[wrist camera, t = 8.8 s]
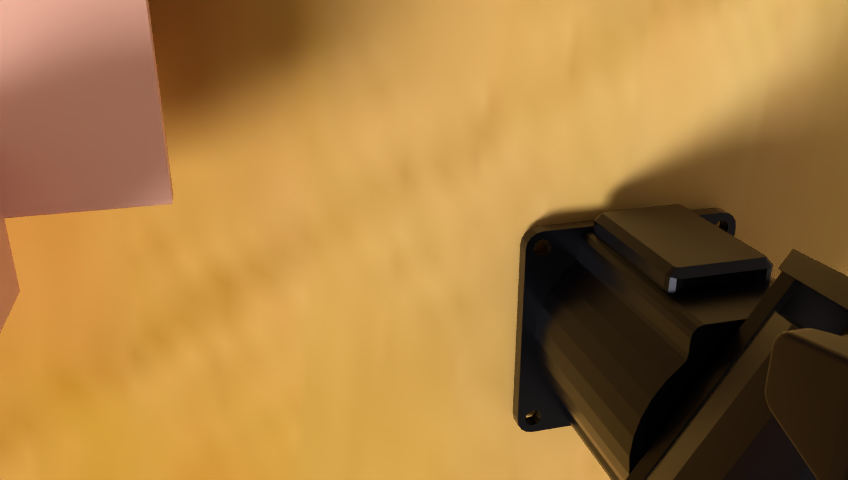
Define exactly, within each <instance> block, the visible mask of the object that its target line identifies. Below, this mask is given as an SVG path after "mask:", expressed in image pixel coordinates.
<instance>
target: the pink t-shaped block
mask: <svg viewBox="0 0 848 480" xmlns="http://www.w3.org/2000/svg"><path fill="white" fill-rule="evenodd" d="M172 202H173V189H172V181H171V174H170V166H169V158H168V150H167V142H166V135H165V127H164V119H163V111H162V104H161V96H160V88H159V80H158V73H157V65H156V57H155V49H154V42H153V34H152V26H151V18H150V11H149V3H148V0H0V332H1V330H2V328H3V326H4V324H5V321H6V319H7V317H8V315H9V313H10V311H11V309H12V306H13V304H14V302H15V300H16V298H17V296H18V294H19V292H20V290H19V285H18V281H17V276H16V271H15V267H14V262H13V257H12V253H11V248H10V243H9V239H8V234H7V230H6V225H5V220H4V218H11V217H23V216H35V215H46V214H58V213H70V212H81V211H93V210H105V209H117V208H128V207H140V206H152V205H163V204H172Z"/></svg>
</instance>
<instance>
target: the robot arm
mask: <svg viewBox="0 0 848 480" xmlns="http://www.w3.org/2000/svg"><path fill="white" fill-rule="evenodd" d="M719 221H720V225H719V227H717V226H715V224H716V223H717V222H719ZM735 228H736V225H735V219H734V218H733V216H732V215H730V214H729V213H727V212H725V211H724V210H722V209H719V208H710V209H700V210H689V209H687V208H686V207H684V206H682V205H679V204H677V205H667V206H657V207H647V208H637V209H627V210H617V211H607V212H602V213H601V214H600V215H598V216H597V217H596V218H595V219H594V220H592V221H582V222H573V223H563V224H553V225H543V226H537V227H533V228H531V229H529V230H528V231H527V232H526V233H525V234H524V236H523V237H522V240H521V244H520V263H519V285H518V308H517V330H516V353H515V375H514V398H513V416H514V419H515V421H516V422H517V424H518V426H519V427H520V428H521V429H522V430H524V431H526V432H534V431H540V430H546V429H552V428H558V427H564V426H570V425H572V427H573V428H574V429H575V431H576V432H577V433H578V435H579V436H580V438H581V439H582V440H583V442H584V443H585V444H586V446H587V447H588V449H589V450H590V451H591V453H592V454H593V455H594V457H595V458H596V459H597V461H598V462H599V464H600V465H601V466H602V468H603V469H604V470H605V472H606V473H607V475H608V476H609V477H610V479H611V480H848V276H846V275H844V274H842V273H840V272H838V271H836V270H834V269H832V268H830V267H828V266H826V265H824V264H822V263H820V262H818V261H816V260H814V259H812V258H810V257H808V256H806V255H804V254H802V253H800V252H798V251H796V250H794V249H793V250H792V251H791V252H790V254H789V255H788V256H787V258H786V259H785V260H784V262H783V263H782V264H781V266H780V267H779V268H778V269H779V270H781V271H782V272H781V274H780V275H779V276H778V278H777V279H776V280H775V279H774V278H772V277H771V274H772V269H773V264H772V263H771V262H770V261H769V260H768V258H767V257H766V256H765V255H763V254H762V253H760V252H758V251H757V250H755V249H753V248H752V247H750V246H748V245H747V244H745V243H744V242H742V241H740V240H739V239H737V238H735V237H734V234H735ZM543 239H544V240H546V243H545V246H544V247H543V248H542V249H541V250H539V251H534V247H535V244H536V243H537V242H538V241H540V240H543ZM533 410H535V411H536V412H535V413H534V414H533V415H532V416H531V417H528V418H527V417H526V415H527V414H528V413H529V412H531V411H533Z"/></svg>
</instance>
